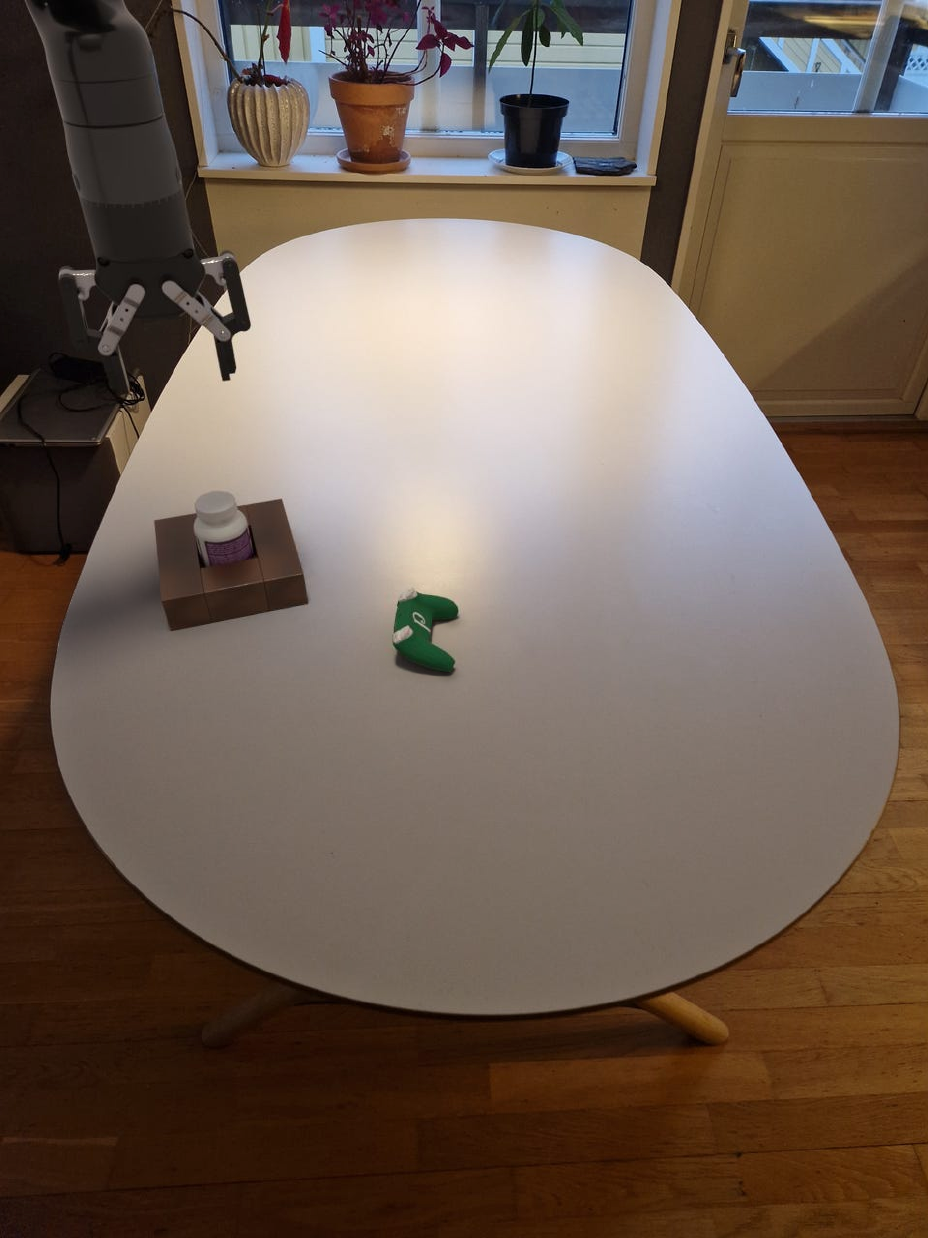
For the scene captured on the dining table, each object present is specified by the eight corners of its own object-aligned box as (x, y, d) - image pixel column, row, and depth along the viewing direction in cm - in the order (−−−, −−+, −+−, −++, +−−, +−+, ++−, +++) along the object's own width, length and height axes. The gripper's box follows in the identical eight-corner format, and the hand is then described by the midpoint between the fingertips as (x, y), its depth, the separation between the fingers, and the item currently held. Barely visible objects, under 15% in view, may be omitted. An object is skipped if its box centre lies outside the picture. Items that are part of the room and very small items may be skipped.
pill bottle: (268, 570, 93) (253, 496, 86) (234, 598, 89) (217, 523, 83) (230, 554, 95) (213, 480, 88) (196, 581, 91) (175, 506, 85)
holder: (170, 631, 86) (161, 600, 83) (162, 549, 95) (153, 520, 93) (308, 603, 89) (303, 573, 86) (286, 527, 99) (281, 498, 96)
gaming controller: (436, 623, 89) (393, 591, 87) (462, 604, 88) (418, 571, 85) (430, 688, 83) (383, 656, 80) (458, 669, 81) (411, 635, 78)
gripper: (221, 163, 69) (252, 355, 80) (30, 177, 65) (90, 375, 76) (232, 190, 64) (263, 392, 74) (25, 207, 60) (90, 416, 71)
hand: (175, 383), depth 75 cm, fingers open, 8 cm apart
